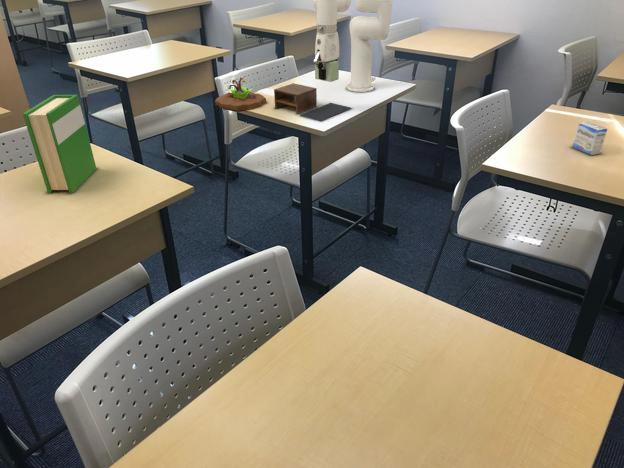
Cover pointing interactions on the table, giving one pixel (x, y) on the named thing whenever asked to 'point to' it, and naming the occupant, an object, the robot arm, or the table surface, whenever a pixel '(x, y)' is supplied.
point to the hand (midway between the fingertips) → (326, 77)
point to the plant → (240, 98)
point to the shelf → (296, 97)
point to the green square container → (329, 71)
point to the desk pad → (325, 111)
